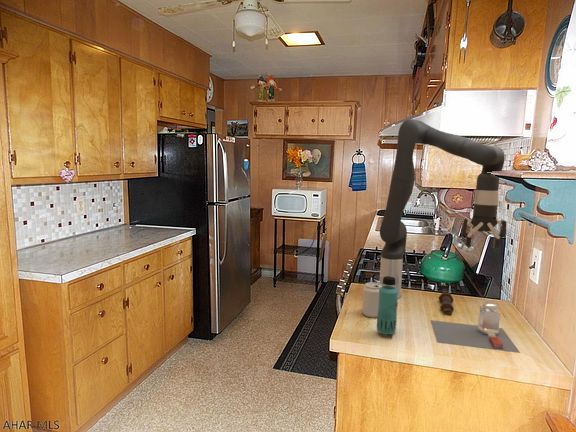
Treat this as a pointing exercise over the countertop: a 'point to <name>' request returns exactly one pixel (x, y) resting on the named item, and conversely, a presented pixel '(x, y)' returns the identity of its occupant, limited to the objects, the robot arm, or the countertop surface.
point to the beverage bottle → (387, 307)
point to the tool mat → (468, 336)
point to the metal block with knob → (489, 316)
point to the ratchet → (491, 336)
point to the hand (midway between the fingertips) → (481, 247)
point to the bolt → (446, 303)
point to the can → (371, 299)
